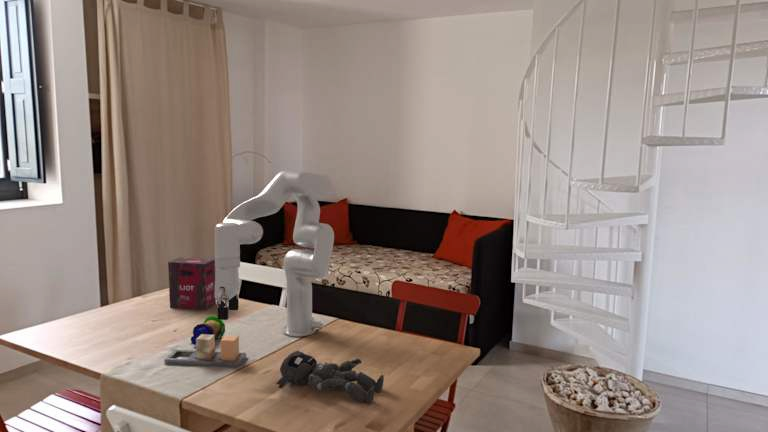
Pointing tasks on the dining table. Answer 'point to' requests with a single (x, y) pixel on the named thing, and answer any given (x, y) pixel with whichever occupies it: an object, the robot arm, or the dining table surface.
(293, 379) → the robot
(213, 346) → the beech block
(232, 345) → the terracotta block
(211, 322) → the toy
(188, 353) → the rail
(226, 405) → the dining table surface
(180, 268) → the box
